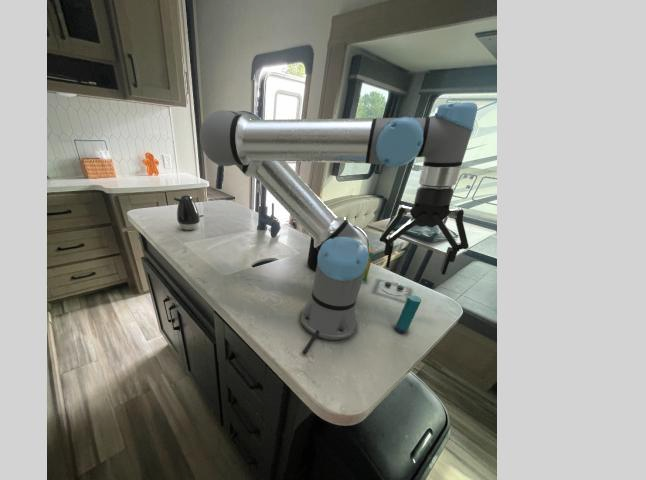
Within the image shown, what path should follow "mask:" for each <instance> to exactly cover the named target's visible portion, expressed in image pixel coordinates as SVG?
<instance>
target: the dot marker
mask: <svg viewBox="0 0 646 480" xmlns="http://www.w3.org/2000/svg"><path fill="white" fill-rule="evenodd" d="M421 303H422V297H420V296H418V295H414V294H409V295H408V296H407V298H406V301H405V303H404V305H403V307H402V310H401V312H400V315H399V317H398V320H397V322H396V324H395V328H394V329H395V331H396V332H397V333H399V334H402V335H403V334H406V333H407V331H408V330H409V328H410V326H411V324H412V322H413V320H414V317H415V316H416V313H417V311H418V309H419V307H420V306H421Z"/></svg>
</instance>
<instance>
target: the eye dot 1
mask: <svg viewBox="0 0 646 480" xmlns="http://www.w3.org/2000/svg"><path fill="white" fill-rule="evenodd" d="M384 286H385V287H388V288H389V287H392V282H384Z"/></svg>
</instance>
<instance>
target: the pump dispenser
mask: <svg viewBox="0 0 646 480" xmlns="http://www.w3.org/2000/svg"><path fill="white" fill-rule="evenodd" d="M173 201H176V202H178V204H177V209H176V221H177V223H178V225H179V227H181V228H182V229H183V230H186V231H192V230H195V229H197V228H198V227H199V224H200V221H201V220H200V219H201V218H200V214H199V210H198V207H197V205H196V203H195V201H194V199H193V198H192V196H190V195H188V194H183V195H182V196H181V197H180V198H178V197H173Z"/></svg>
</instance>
